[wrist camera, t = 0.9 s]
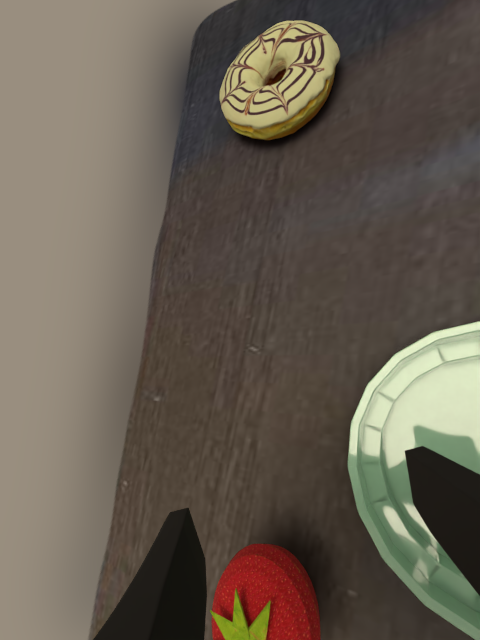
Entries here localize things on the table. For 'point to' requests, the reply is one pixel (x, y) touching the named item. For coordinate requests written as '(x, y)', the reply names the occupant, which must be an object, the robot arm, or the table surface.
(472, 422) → the mint green dish
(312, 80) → the decorated donut
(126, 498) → the table surface
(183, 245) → the table surface
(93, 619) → the table surface
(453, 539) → the robot arm
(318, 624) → the strawberry
